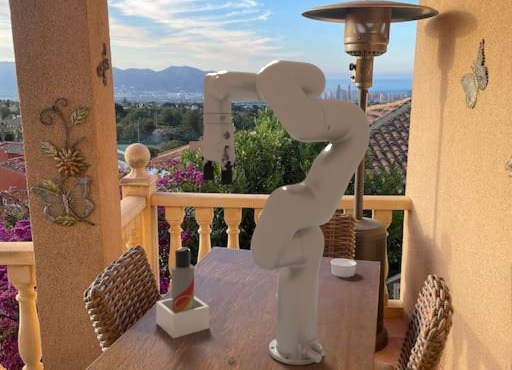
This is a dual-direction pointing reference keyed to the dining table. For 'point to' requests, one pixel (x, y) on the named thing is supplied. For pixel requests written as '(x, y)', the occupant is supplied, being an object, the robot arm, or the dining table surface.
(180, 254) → the lotion bottle
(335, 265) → the ramekin
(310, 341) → the robot arm
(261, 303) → the dining table surface
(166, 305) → the caddy
